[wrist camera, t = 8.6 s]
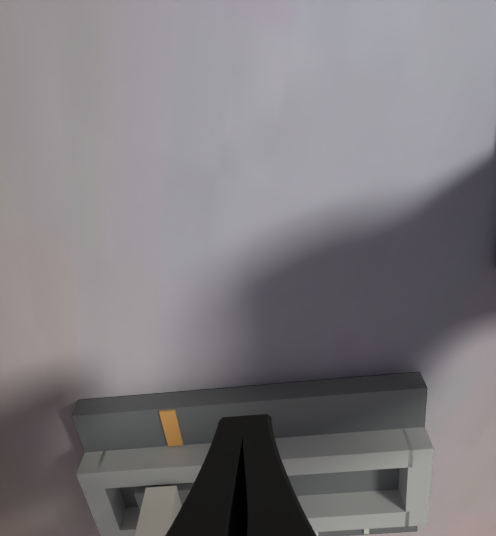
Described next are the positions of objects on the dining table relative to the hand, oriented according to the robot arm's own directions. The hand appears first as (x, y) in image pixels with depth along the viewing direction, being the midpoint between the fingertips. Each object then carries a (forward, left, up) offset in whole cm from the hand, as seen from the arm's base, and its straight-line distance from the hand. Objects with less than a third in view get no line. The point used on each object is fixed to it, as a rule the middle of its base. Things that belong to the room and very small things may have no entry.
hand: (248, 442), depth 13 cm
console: (+1, +12, -10) cm, 16 cm away
